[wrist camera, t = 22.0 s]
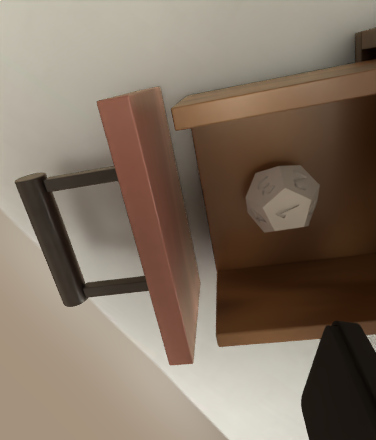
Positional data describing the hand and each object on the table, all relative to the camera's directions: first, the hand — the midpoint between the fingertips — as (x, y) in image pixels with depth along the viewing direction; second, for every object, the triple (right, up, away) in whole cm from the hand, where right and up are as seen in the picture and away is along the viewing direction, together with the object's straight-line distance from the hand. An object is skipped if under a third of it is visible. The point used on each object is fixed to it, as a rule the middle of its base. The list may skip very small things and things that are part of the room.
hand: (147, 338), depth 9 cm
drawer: (+4, +5, +10) cm, 12 cm away
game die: (+6, +5, +9) cm, 12 cm away
